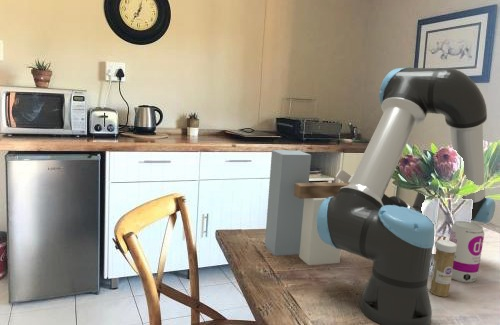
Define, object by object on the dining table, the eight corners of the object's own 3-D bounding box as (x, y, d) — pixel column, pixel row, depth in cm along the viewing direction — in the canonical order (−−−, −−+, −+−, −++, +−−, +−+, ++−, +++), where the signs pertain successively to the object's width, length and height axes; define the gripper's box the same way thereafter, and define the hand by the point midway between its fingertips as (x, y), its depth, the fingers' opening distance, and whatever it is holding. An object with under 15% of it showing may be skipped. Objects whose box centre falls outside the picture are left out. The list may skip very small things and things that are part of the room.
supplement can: (483, 281, 116) (492, 229, 113) (461, 285, 112) (469, 230, 110) (459, 269, 123) (467, 219, 120) (437, 272, 120) (445, 221, 117)
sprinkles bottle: (440, 298, 104) (448, 246, 102) (425, 290, 108) (432, 240, 106) (453, 295, 106) (461, 244, 104) (437, 287, 110) (444, 238, 108)
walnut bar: (361, 193, 126) (362, 182, 125) (368, 196, 123) (369, 185, 122) (294, 195, 119) (294, 183, 118) (299, 198, 115) (300, 186, 115)
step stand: (313, 243, 137) (322, 151, 132) (339, 262, 122) (350, 160, 117) (264, 246, 131) (271, 150, 126) (285, 267, 116) (294, 159, 111)
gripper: (413, 233, 120) (356, 195, 112) (373, 213, 138) (321, 179, 130) (426, 210, 120) (371, 170, 112) (385, 194, 138) (334, 158, 130)
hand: (344, 175), depth 121 cm, fingers open, 6 cm apart
